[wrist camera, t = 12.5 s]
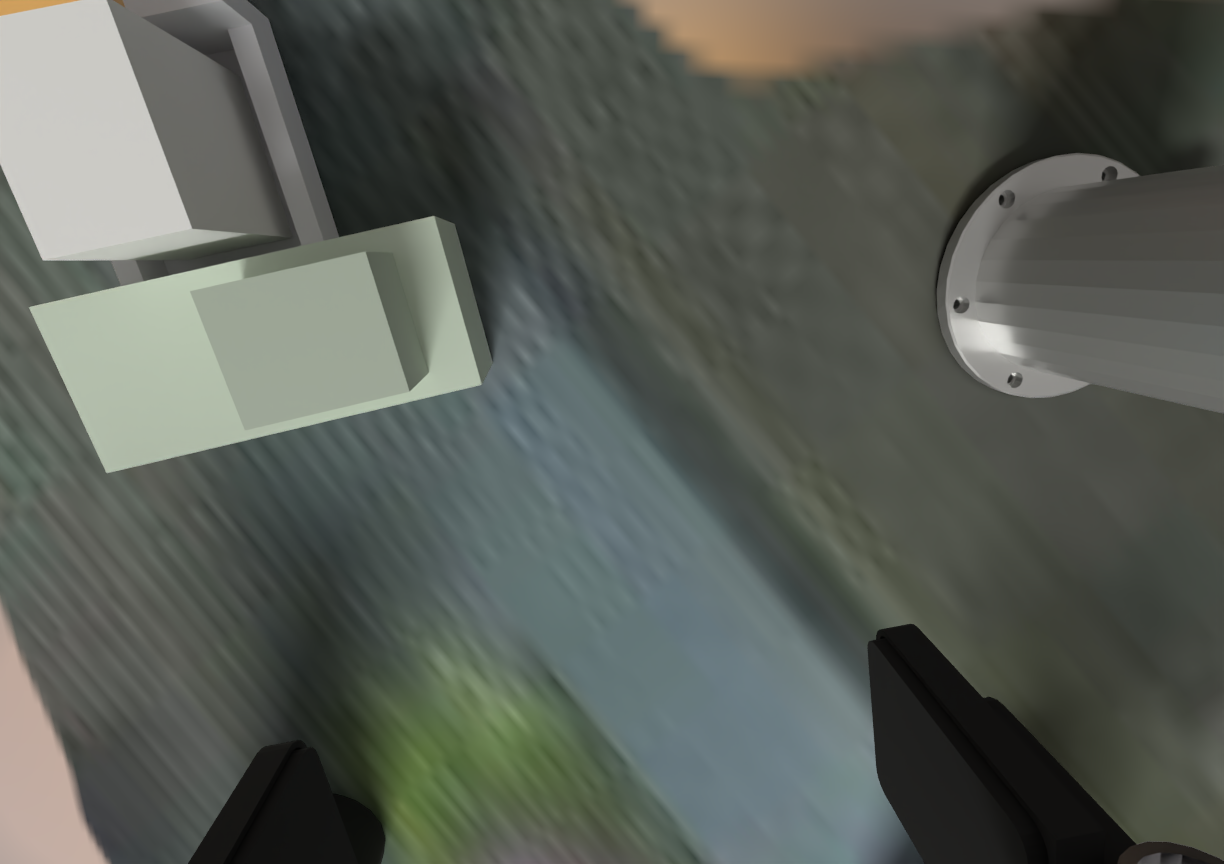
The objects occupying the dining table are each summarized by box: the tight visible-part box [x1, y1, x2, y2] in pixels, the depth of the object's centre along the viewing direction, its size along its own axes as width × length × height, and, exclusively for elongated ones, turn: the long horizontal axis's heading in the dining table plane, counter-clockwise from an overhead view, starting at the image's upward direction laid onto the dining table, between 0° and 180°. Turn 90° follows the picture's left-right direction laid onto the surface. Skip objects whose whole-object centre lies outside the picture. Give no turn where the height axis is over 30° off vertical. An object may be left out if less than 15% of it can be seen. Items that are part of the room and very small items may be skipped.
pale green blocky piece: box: [29, 0, 493, 473], centre depth 26 cm, size 16×17×10 cm
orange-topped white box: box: [0, 0, 293, 260], centre depth 25 cm, size 5×9×9 cm, turn 12°
